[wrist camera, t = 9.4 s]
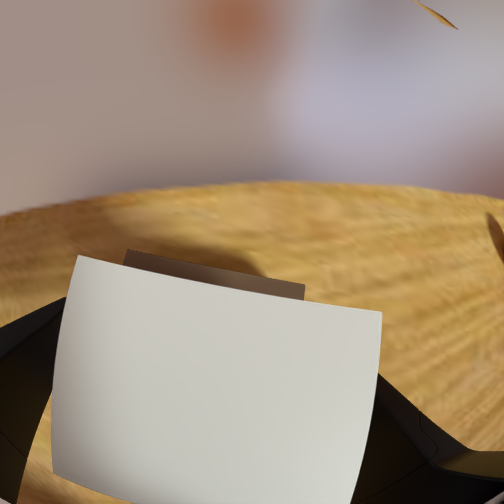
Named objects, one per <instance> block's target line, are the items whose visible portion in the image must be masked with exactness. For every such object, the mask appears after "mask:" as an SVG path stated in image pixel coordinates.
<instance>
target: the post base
mask: <svg viewBox="0 0 504 504" xmlns="http://www.w3.org/2000/svg"><path fill="white" fill-rule="evenodd" d="M123 266H127V267H131V268H136V269H140V270H145V271H149V272H154V273H158V274H163V275H168V276H172V277H177V278H182V279H187V280H192V281H197V282H202V283H207V284H212V285H217V286H222V287H227V288H233V289H238V290H244V291H249V292H255V293H260V294H266V295H272V296H278V297H284V298H290V299H296V300H302V301H304V292H305V285H304V284H299V283H293V282H288V281H282V280H277V279H272V278H266V277H261V276H256V275H250V274H245V273H240V272H235V271H230V270H225V269H220V268H215V267H210V266H205V265H200V264H195V263H190V262H185V261H180V260H175V259H171V258H166V257H161V256H156V255H152V254H147V253H142V252H138V251H133V250H129V249H127V253H126V256H125V260H124V264H123Z"/></svg>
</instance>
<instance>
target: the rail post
mask: <svg viewBox="0 0 504 504" xmlns="http://www.w3.org/2000/svg"><path fill="white" fill-rule="evenodd" d="M381 328H382V312H379V311H371V310H364V309H356V308H349V307H342V306H335V305H328V304H322V303H315V302H309V301H302V300H296V299H290V298H284V297H278V296H272V295H266V294H260V293H255V292H249V291H244V290H238V289H233V288H227V287H222V286H217V285H212V284H207V283H202V282H197V281H192V280H187V279H182V278H177V277H172V276H168V275H163V274H158V273H154V272H149V271H145V270H140V269H136V268H131V267H127V266H123V265H118V264H114V263H110V262H106V261H101V260H97V259H93V258H89V257H85V256H81V255H78V257H77V260H76V264H75V267H74V271H73V274H72V278H71V282H70V286H69V290H68V294H67V298H66V303H65V307H64V312H63V317H62V322H61V327H60V333H59V339H58V345H57V352H56V359H55V368H54V377H53V389H52V406H51V449H52V466H53V473H54V474H56V475H58V476H60V477H62V478H64V479H67V480H69V481H71V482H74V483H76V484H78V485H81V486H83V487H86V488H89V489H91V490H94V491H97V492H100V493H102V494H105V495H108V496H112V497H115V498H118V499H121V500H125V501H128V502H132V503H136V504H350V502H351V499H352V495H353V492H354V489H355V485H356V482H357V478H358V475H359V471H360V467H361V463H362V459H363V455H364V451H365V446H366V442H367V437H368V432H369V427H370V422H371V416H372V410H373V404H374V397H375V390H376V383H377V375H378V365H379V355H380V343H381Z"/></svg>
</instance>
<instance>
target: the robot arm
mask: <svg viewBox="0 0 504 504" xmlns="http://www.w3.org/2000/svg"><path fill="white" fill-rule="evenodd" d="M66 298H67V297H63V298H61V299H59V300H57V301H55V302H53V303H50V304H48V305H46V306H44V307H42V308H40V309H38V310H36V311H33V312H31V313H29V314H27V315H25V316H23V317H21V318H19V319H17V320H15V321H13V322H11V323H9V324H7V325H5V326H3V327H1V328H0V498H2V499H3V500H6V501H7V502H9V503H11V504H16V503H17V498H18V494H19V489H20V485H21V481H22V477H23V473H24V469H25V466H26V462H27V458H28V455H29V452H30V448H31V445H32V442H33V439H34V436H35V433H36V431H37V428H38V425H39V422H40V420H41V417H42V414H43V412H44V409H45V407H46V404H47V402H48V399H49V397H50V394H51V392H52V389H53V377H54V368H55V359H56V352H57V345H58V339H59V333H60V327H61V322H62V317H63V312H64V307H65V303H66ZM350 504H504V451H475V450H471V449H469V448H467V447H465V446H464V445H463V444H461V443H460V442H458V441H457V440H456V439H454V438H453V437H452V436H450V435H449V434H448V433H446V432H445V431H444V430H442V429H441V428H440V427H439V426H437V425H436V424H435V423H434V422H432V421H431V420H430V419H429V418H428V417H427V416H425V415H424V414H423V413H422V412H421V411H419V410H418V408H416V407H415V406H414V405H413V404H412V403H411V402H410V401H409V400H408V399H406V398H405V397H404V396H403V395H402V394H401V393H400V392H399V391H398V390H396V389H395V388H394V387H393V386H392V385H391V384H390V383H389V382H388V381H386V380H385V379H384V378H383V377H382V376H381V375H380V374H379V373H378V375H377V383H376V390H375V397H374V404H373V410H372V416H371V422H370V427H369V432H368V437H367V442H366V446H365V451H364V455H363V459H362V463H361V467H360V471H359V475H358V478H357V482H356V485H355V489H354V492H353V495H352V499H351V502H350Z"/></svg>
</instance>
